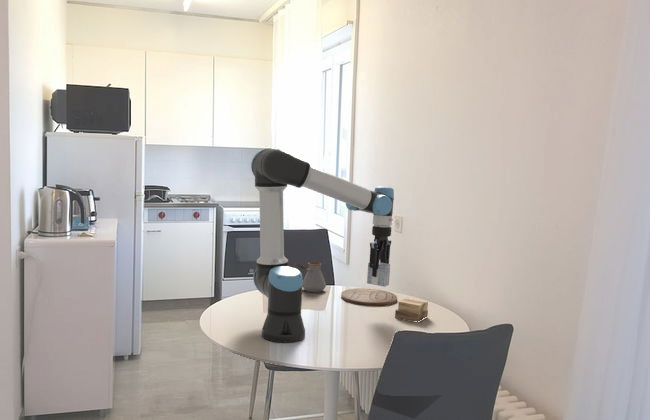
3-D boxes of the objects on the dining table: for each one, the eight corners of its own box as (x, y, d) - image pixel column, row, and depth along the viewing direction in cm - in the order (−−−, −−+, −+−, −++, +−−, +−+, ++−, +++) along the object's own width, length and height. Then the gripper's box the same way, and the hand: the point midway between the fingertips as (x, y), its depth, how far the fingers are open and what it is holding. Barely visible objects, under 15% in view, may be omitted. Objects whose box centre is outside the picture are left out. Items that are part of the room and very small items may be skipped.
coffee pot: (310, 286, 273) (311, 255, 271) (330, 290, 267) (332, 258, 265) (283, 294, 255) (285, 261, 253) (304, 299, 249) (306, 265, 247)
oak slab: (418, 314, 222) (419, 305, 222) (398, 309, 227) (398, 301, 227) (427, 310, 229) (427, 301, 228) (407, 305, 234) (407, 297, 233)
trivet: (338, 304, 244) (338, 300, 244) (343, 290, 269) (343, 286, 269) (397, 308, 241) (397, 304, 241) (396, 294, 266) (396, 290, 266)
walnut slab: (417, 323, 222) (418, 314, 221) (394, 318, 227) (395, 309, 227) (427, 318, 229) (427, 310, 229) (404, 313, 235) (405, 305, 234)
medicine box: (389, 285, 227) (390, 264, 226) (384, 287, 223) (385, 265, 223) (371, 282, 231) (373, 261, 231) (366, 283, 228) (368, 262, 227)
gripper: (379, 228, 216) (375, 288, 218) (400, 225, 230) (396, 281, 233) (362, 226, 220) (358, 285, 222) (384, 223, 234) (380, 278, 237)
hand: (377, 283), depth 227 cm, fingers closed on medicine box, 4 cm apart
